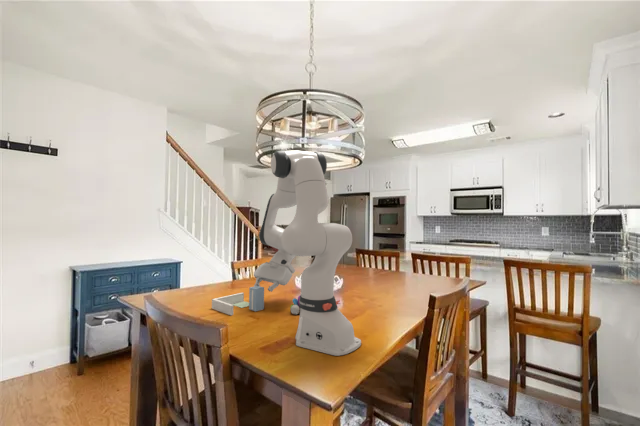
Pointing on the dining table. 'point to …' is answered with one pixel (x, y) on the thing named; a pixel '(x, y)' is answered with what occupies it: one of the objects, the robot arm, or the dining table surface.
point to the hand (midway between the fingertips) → (262, 288)
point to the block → (256, 298)
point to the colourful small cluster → (295, 306)
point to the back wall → (231, 298)
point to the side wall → (223, 307)
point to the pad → (241, 304)
